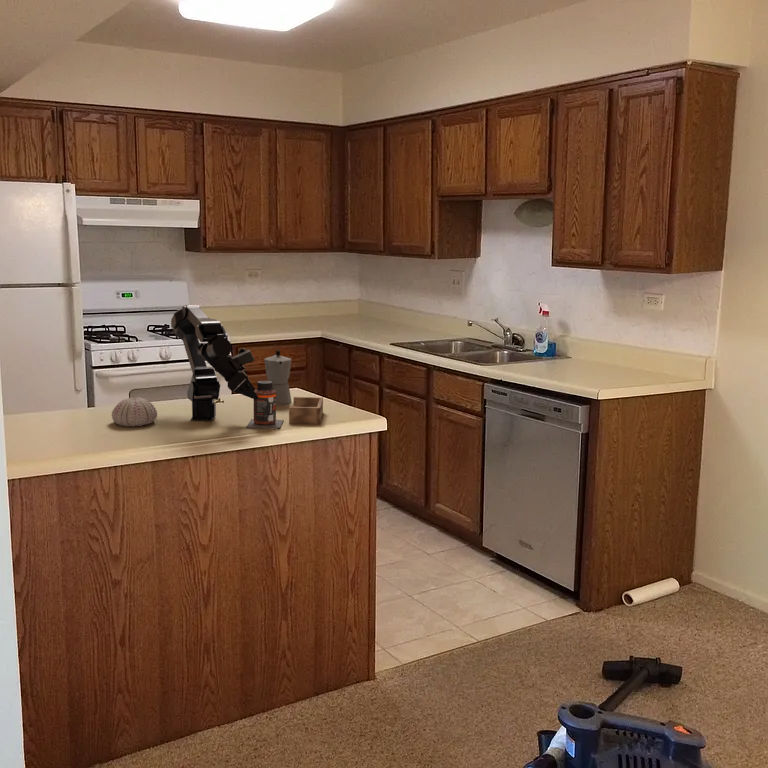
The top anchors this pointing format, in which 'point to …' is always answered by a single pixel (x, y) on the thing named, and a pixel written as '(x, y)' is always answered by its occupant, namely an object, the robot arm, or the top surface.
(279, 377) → the coffeepot
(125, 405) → the sea urchin shell
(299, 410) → the crate
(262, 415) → the supplement bottle
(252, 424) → the mat
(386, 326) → the top surface
